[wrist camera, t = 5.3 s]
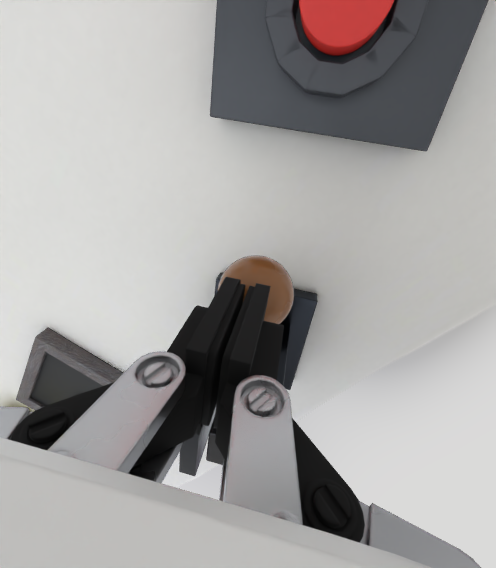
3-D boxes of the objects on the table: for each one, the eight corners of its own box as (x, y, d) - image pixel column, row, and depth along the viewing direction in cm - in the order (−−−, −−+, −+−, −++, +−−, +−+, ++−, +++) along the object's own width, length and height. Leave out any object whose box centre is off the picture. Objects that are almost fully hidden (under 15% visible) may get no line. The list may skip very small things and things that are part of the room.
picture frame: (188, 412, 34) (47, 327, 31) (182, 428, 32) (32, 339, 30) (145, 457, 40) (26, 389, 38) (138, 472, 38) (12, 402, 36)
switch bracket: (220, 272, 24) (151, 381, 14) (317, 293, 23) (320, 425, 13) (211, 360, 29) (156, 488, 19) (291, 380, 28) (278, 525, 18)
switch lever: (232, 237, 13) (210, 269, 10) (303, 252, 13) (300, 288, 10) (212, 417, 20) (195, 465, 17) (258, 429, 19) (249, 480, 17)
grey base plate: (514, -109, 12) (591, -199, 9) (414, 148, 17) (439, 154, 14) (238, -129, 14) (213, -215, 10) (220, 117, 19) (198, 115, 15)
